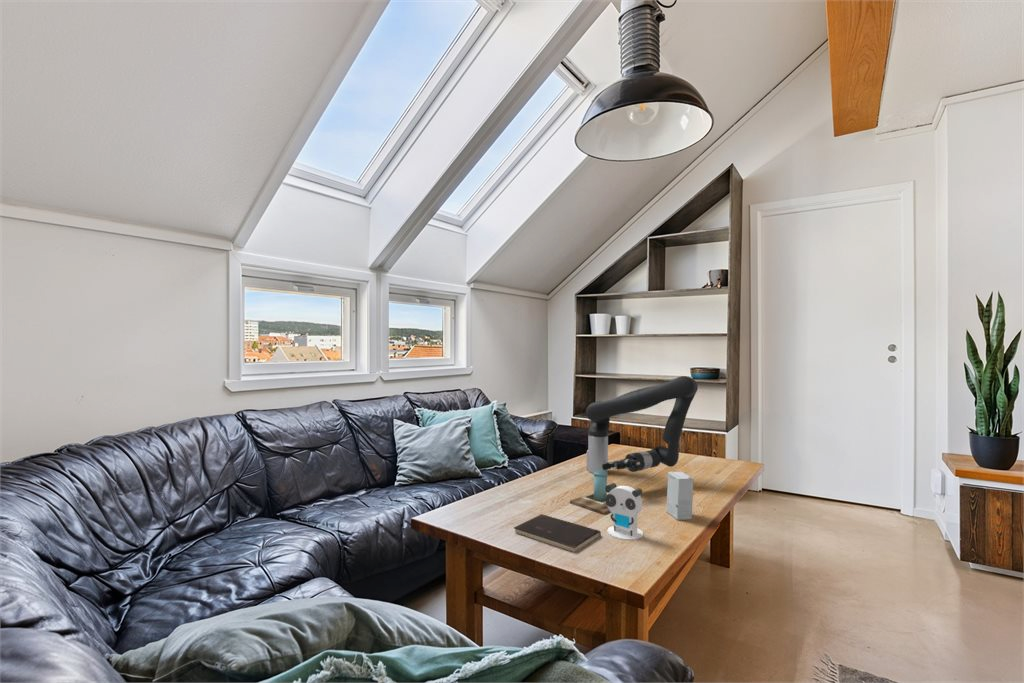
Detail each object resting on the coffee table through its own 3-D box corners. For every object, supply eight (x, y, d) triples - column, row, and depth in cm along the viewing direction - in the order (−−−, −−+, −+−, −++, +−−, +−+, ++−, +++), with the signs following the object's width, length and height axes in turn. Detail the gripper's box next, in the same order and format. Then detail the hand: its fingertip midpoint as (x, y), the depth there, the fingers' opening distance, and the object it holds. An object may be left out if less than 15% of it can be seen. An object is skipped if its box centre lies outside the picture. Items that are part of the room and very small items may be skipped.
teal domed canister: (589, 500, 182) (590, 471, 182) (598, 497, 186) (599, 469, 186) (601, 504, 178) (601, 474, 178) (609, 501, 182) (610, 472, 182)
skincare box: (666, 512, 173) (666, 471, 173) (681, 511, 174) (681, 470, 174) (677, 520, 165) (678, 478, 165) (693, 519, 166) (694, 477, 166)
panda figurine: (599, 532, 155) (599, 486, 155) (616, 522, 163) (616, 479, 163) (632, 543, 147) (633, 494, 147) (649, 532, 155) (649, 486, 155)
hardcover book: (574, 554, 140) (574, 546, 140) (513, 534, 155) (513, 527, 155) (600, 537, 152) (600, 530, 152) (542, 520, 167) (542, 513, 167)
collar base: (569, 503, 183) (569, 497, 183) (595, 494, 193) (595, 488, 193) (603, 514, 171) (603, 507, 171) (629, 504, 182) (629, 497, 182)
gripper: (625, 453, 206) (596, 458, 198) (649, 451, 194) (620, 456, 186) (628, 470, 205) (599, 476, 196) (653, 470, 193) (623, 476, 184)
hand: (609, 467), depth 191 cm, fingers open, 8 cm apart
